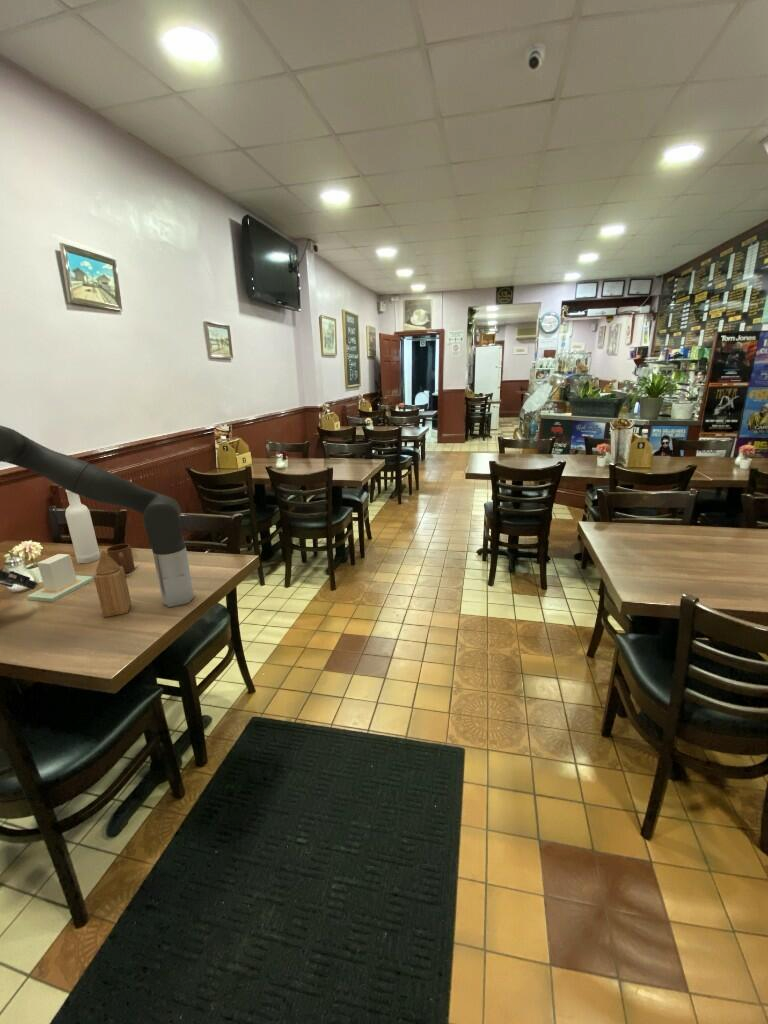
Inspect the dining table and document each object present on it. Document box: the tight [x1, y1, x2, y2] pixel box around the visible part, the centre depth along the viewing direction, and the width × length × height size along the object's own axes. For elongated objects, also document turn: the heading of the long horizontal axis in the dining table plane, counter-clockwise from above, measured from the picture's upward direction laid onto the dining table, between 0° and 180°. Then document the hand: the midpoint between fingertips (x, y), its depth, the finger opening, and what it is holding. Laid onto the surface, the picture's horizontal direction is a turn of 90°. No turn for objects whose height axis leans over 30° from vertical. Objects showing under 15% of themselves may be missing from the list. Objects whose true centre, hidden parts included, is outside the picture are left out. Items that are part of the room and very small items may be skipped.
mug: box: [106, 543, 136, 574], centre depth 157 cm, size 12×8×9 cm, turn 37°
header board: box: [26, 574, 95, 603], centre depth 146 cm, size 16×10×5 cm, turn 168°
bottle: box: [64, 489, 101, 565], centre depth 167 cm, size 8×8×30 cm
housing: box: [37, 553, 77, 592], centre depth 145 cm, size 8×5×10 cm, turn 168°
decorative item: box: [93, 550, 132, 618], centre depth 129 cm, size 7×7×20 cm
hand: (23, 585), depth 134 cm, fingers open, 8 cm apart
